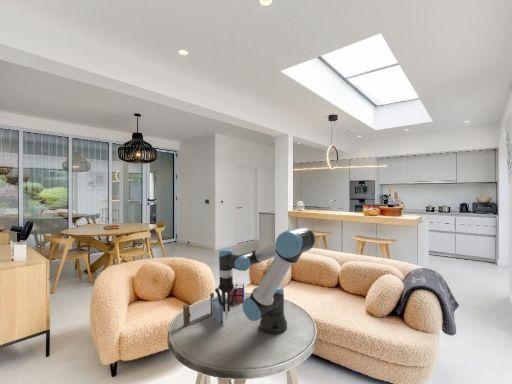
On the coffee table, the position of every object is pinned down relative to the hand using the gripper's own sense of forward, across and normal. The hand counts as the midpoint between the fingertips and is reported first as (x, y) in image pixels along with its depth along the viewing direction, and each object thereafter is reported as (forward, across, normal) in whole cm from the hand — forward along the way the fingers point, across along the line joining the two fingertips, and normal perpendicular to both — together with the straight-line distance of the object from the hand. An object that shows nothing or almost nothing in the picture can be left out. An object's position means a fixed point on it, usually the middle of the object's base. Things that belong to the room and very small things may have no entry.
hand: (226, 316), depth 161 cm
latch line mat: (+4, +16, -5) cm, 17 cm away
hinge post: (+4, +10, -12) cm, 15 cm away
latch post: (+3, +22, +2) cm, 23 cm away
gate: (+2, +6, -3) cm, 7 cm away
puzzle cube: (+4, -5, -32) cm, 32 cm away
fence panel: (+4, +6, -15) cm, 17 cm away
